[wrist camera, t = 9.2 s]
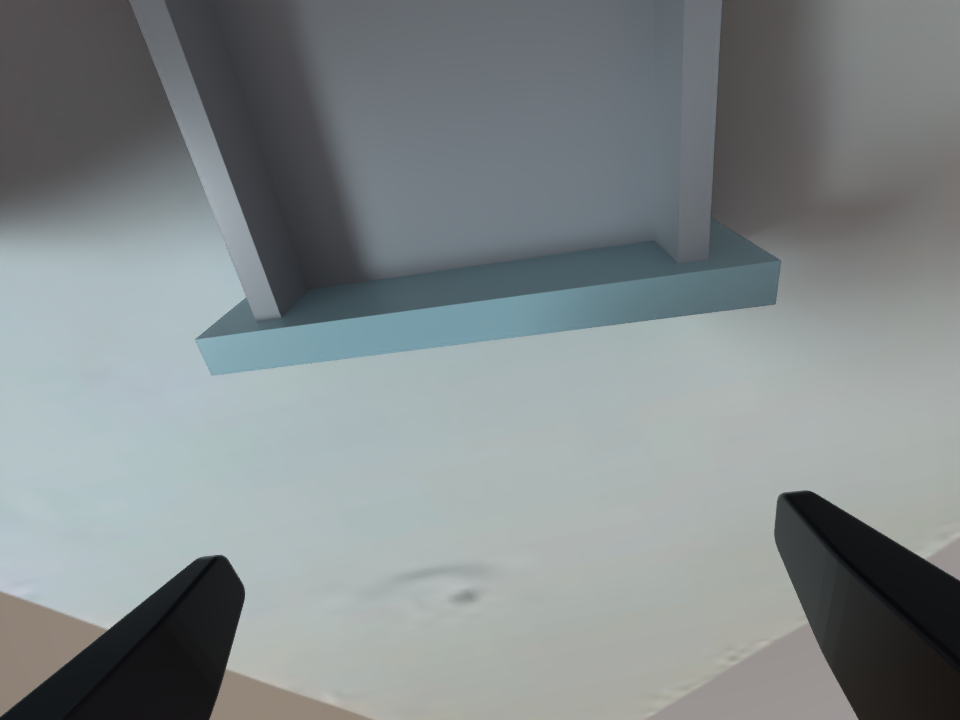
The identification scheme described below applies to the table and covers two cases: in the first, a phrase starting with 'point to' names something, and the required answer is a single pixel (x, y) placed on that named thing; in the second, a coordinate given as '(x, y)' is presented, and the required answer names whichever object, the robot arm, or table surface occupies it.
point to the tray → (451, 168)
